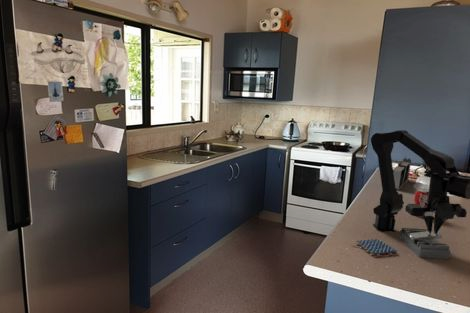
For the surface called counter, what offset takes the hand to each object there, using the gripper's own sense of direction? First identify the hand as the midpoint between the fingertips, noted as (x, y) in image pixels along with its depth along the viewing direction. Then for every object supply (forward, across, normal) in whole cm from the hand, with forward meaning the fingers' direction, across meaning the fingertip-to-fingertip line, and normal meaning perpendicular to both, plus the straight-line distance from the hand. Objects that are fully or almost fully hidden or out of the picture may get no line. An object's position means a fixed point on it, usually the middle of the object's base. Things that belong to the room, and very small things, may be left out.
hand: (432, 233), depth 125 cm
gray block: (+2, -3, 0) cm, 3 cm away
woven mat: (+6, -21, -4) cm, 22 cm away
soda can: (+6, +13, +35) cm, 38 cm away
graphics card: (+7, +28, +91) cm, 95 cm away
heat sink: (+6, -3, 0) cm, 6 cm away
